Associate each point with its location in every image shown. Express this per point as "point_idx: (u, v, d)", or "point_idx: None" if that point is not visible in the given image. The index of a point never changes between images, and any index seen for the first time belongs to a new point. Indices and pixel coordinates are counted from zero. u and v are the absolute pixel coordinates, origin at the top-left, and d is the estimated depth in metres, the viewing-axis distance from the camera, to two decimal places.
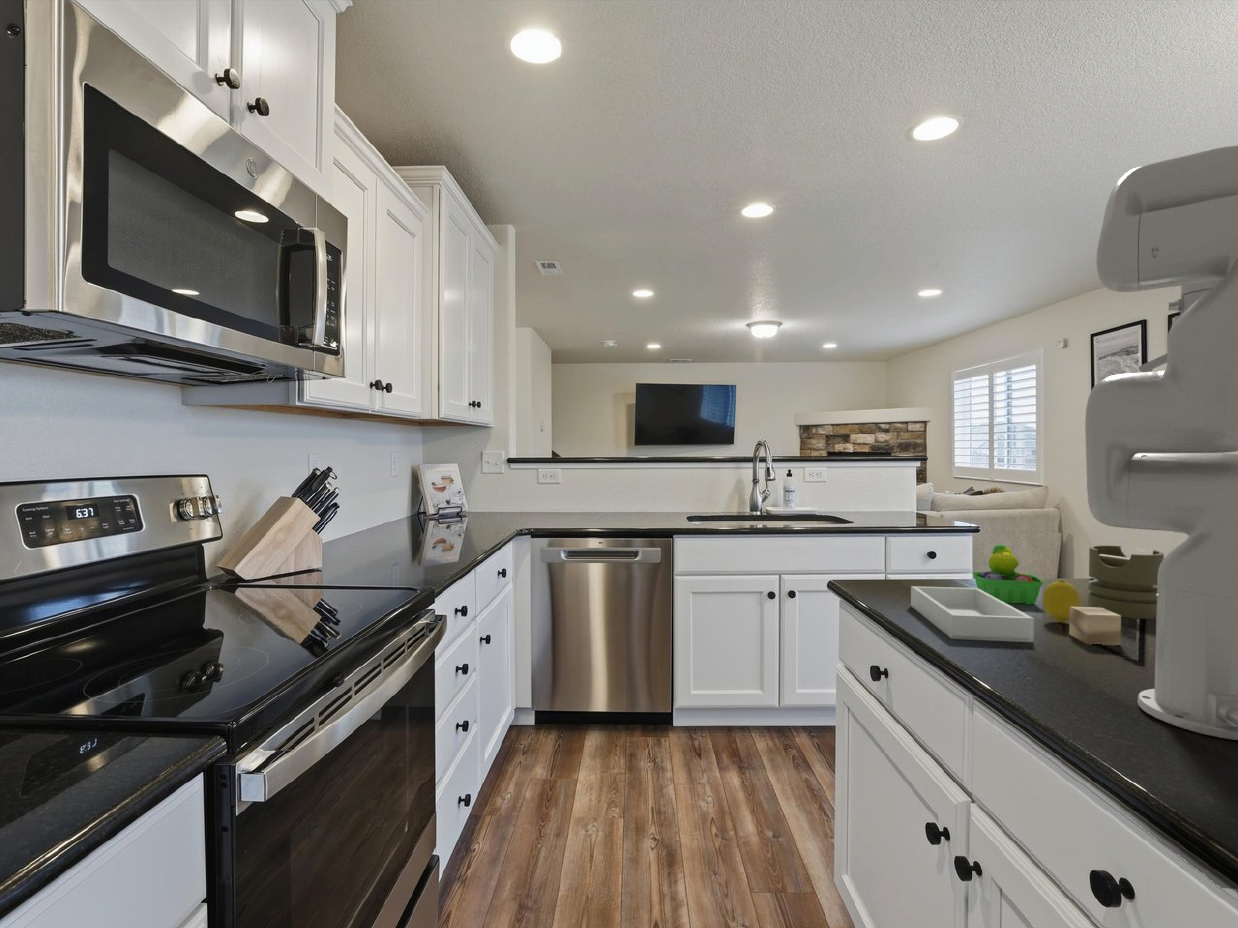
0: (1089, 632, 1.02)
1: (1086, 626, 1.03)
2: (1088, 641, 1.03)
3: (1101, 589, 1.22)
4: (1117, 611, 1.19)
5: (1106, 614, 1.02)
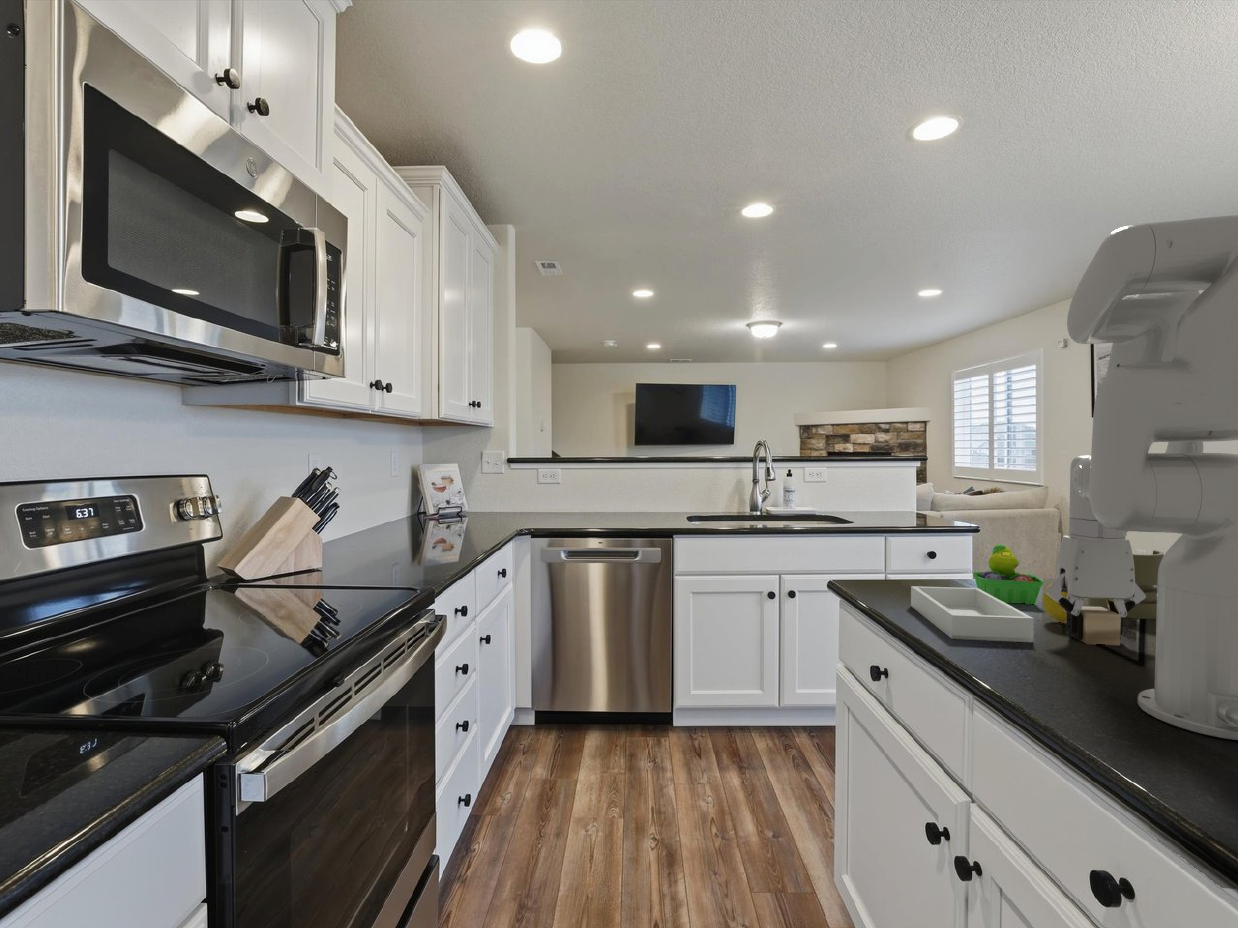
0: (1089, 631, 1.03)
1: (1086, 626, 1.03)
2: (1088, 640, 1.03)
3: None
4: None
5: (1106, 613, 1.03)
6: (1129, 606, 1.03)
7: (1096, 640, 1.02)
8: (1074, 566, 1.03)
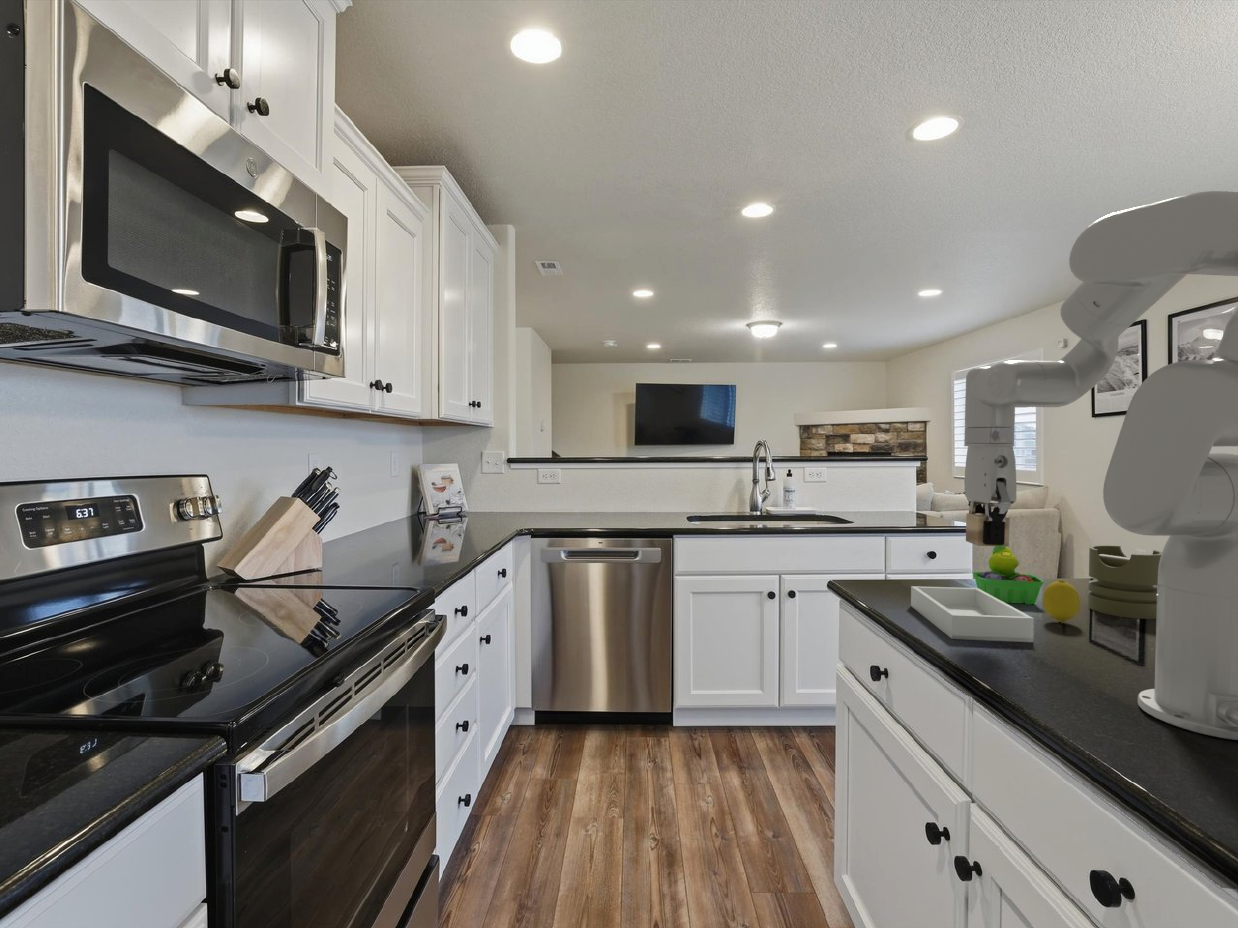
0: (966, 529, 1.13)
1: (967, 524, 1.13)
2: (966, 538, 1.13)
3: (1101, 589, 1.22)
4: (1117, 611, 1.19)
5: (976, 515, 1.10)
6: (994, 512, 1.05)
7: (969, 538, 1.12)
8: (965, 470, 1.14)
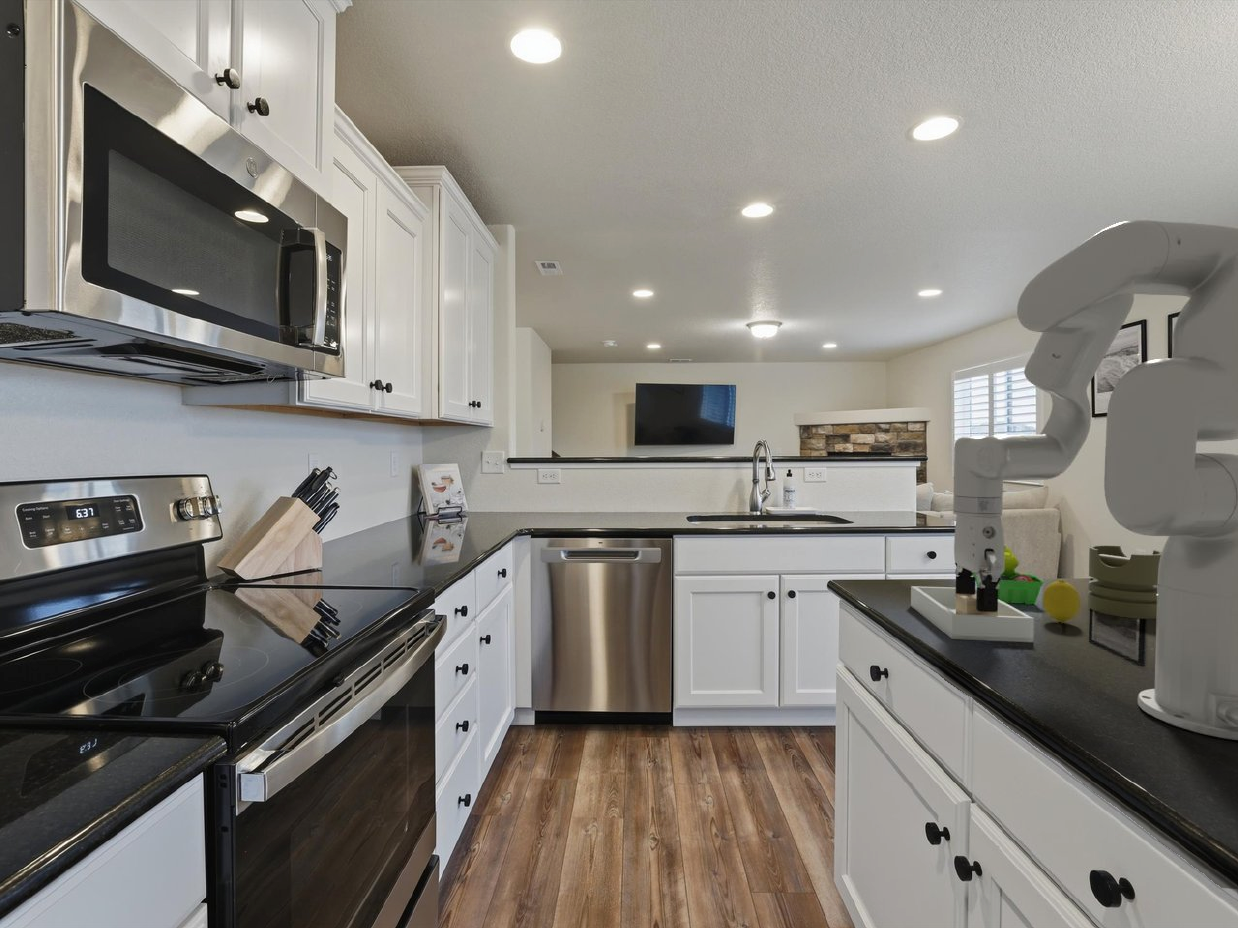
0: (956, 610, 1.13)
1: (956, 605, 1.14)
2: None
3: (1101, 589, 1.22)
4: (1117, 611, 1.19)
5: (965, 597, 1.10)
6: (987, 580, 1.05)
7: None
8: (955, 536, 1.15)
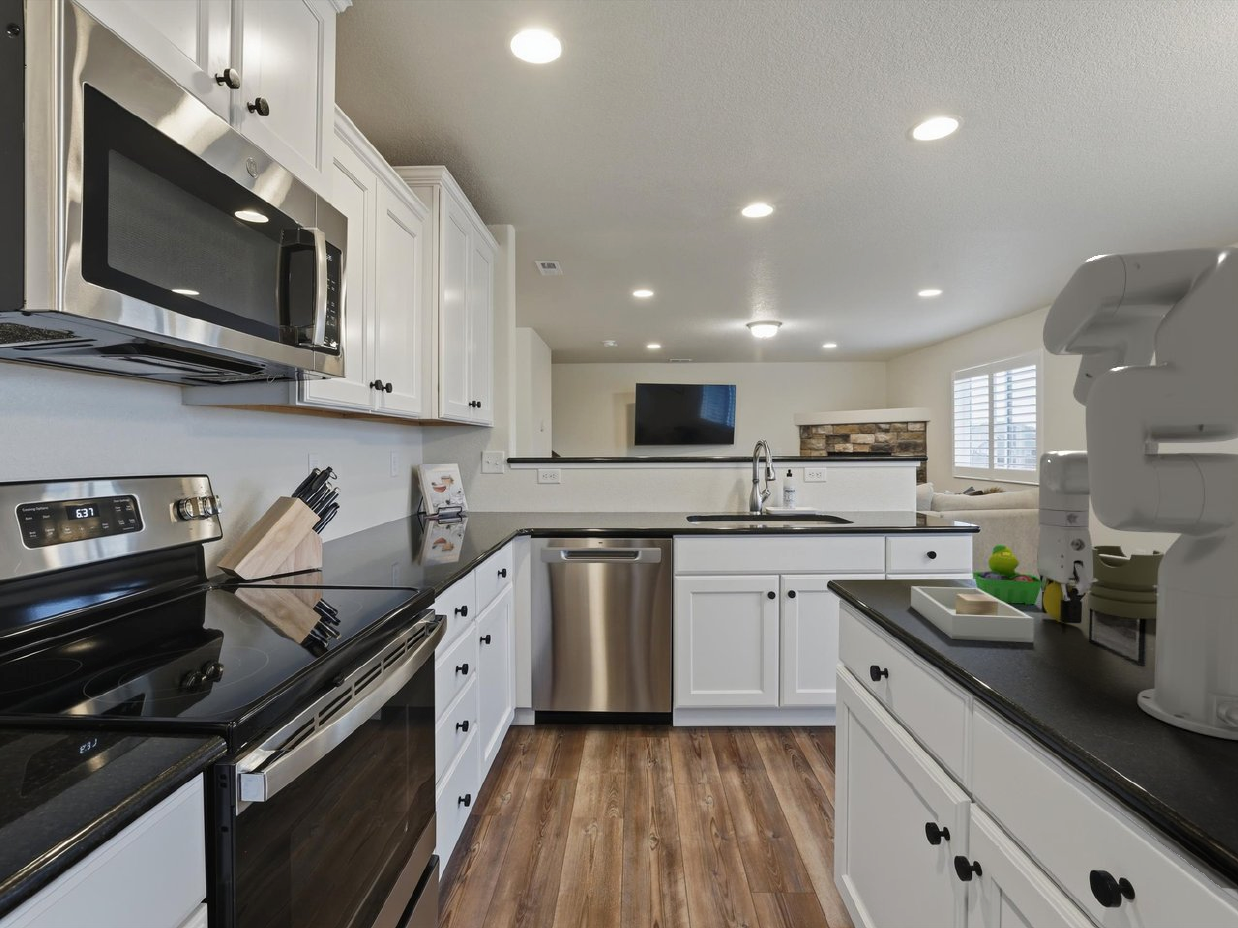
0: (956, 610, 1.13)
1: (956, 605, 1.14)
2: None
3: (1101, 589, 1.22)
4: (1117, 611, 1.19)
5: (965, 597, 1.10)
6: (1072, 593, 1.10)
7: None
8: (1038, 547, 1.19)
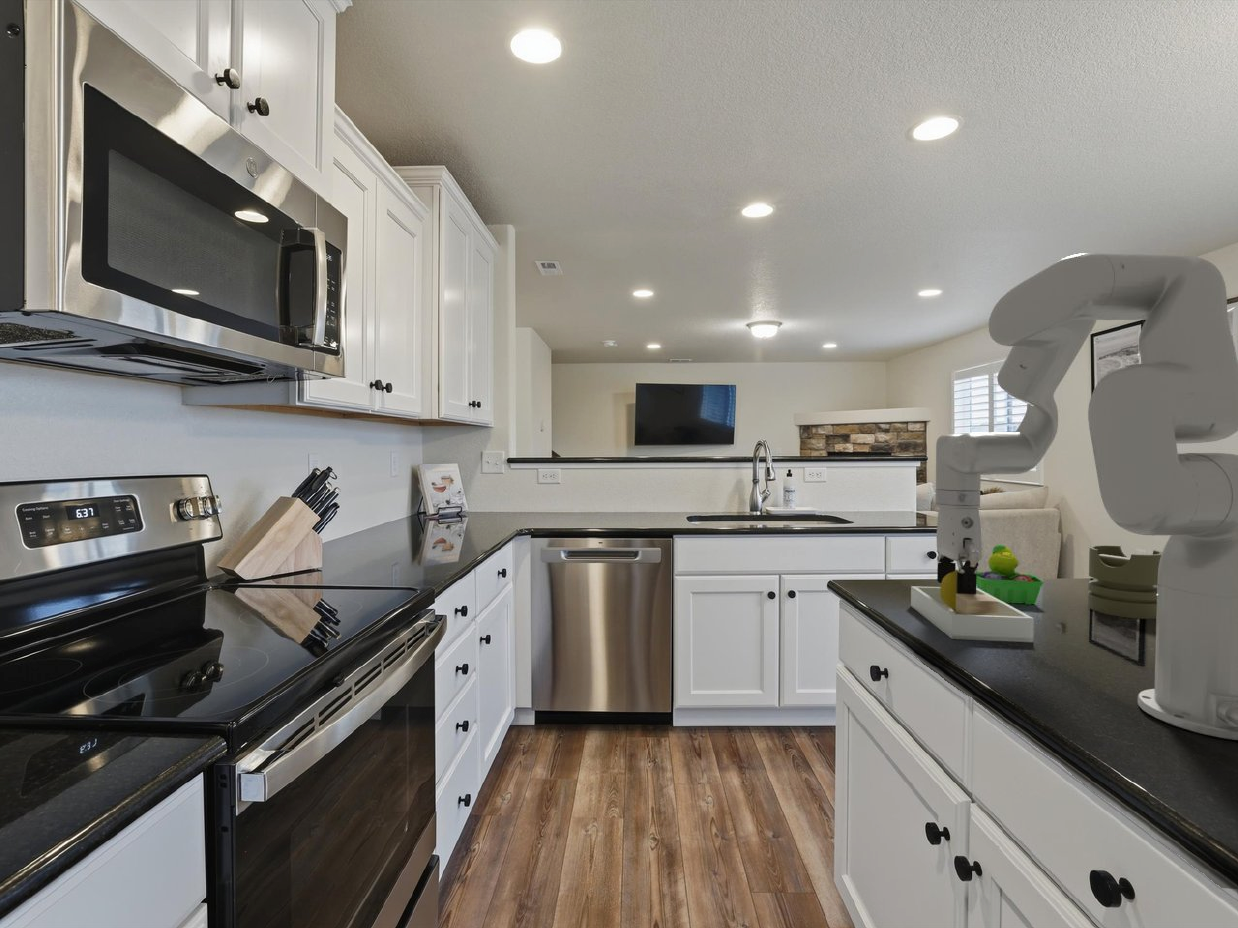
0: (956, 610, 1.13)
1: (956, 605, 1.14)
2: None
3: (1101, 589, 1.22)
4: (1117, 611, 1.19)
5: (965, 597, 1.10)
6: (966, 565, 1.13)
7: None
8: (937, 527, 1.24)
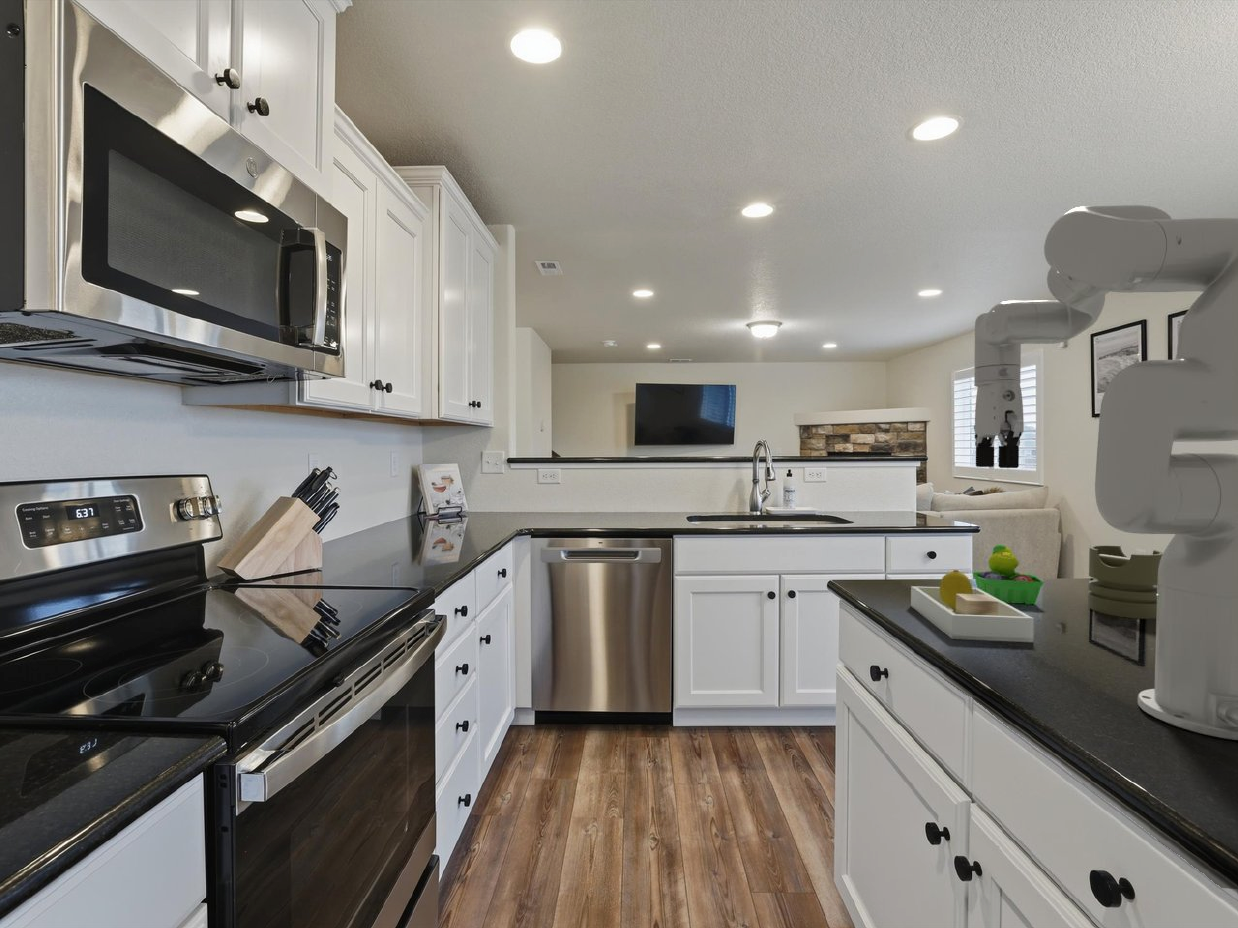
0: (956, 610, 1.13)
1: (956, 605, 1.14)
2: None
3: (1101, 589, 1.22)
4: (1117, 611, 1.19)
5: (965, 597, 1.10)
6: (1008, 436, 1.13)
7: None
8: (975, 410, 1.24)
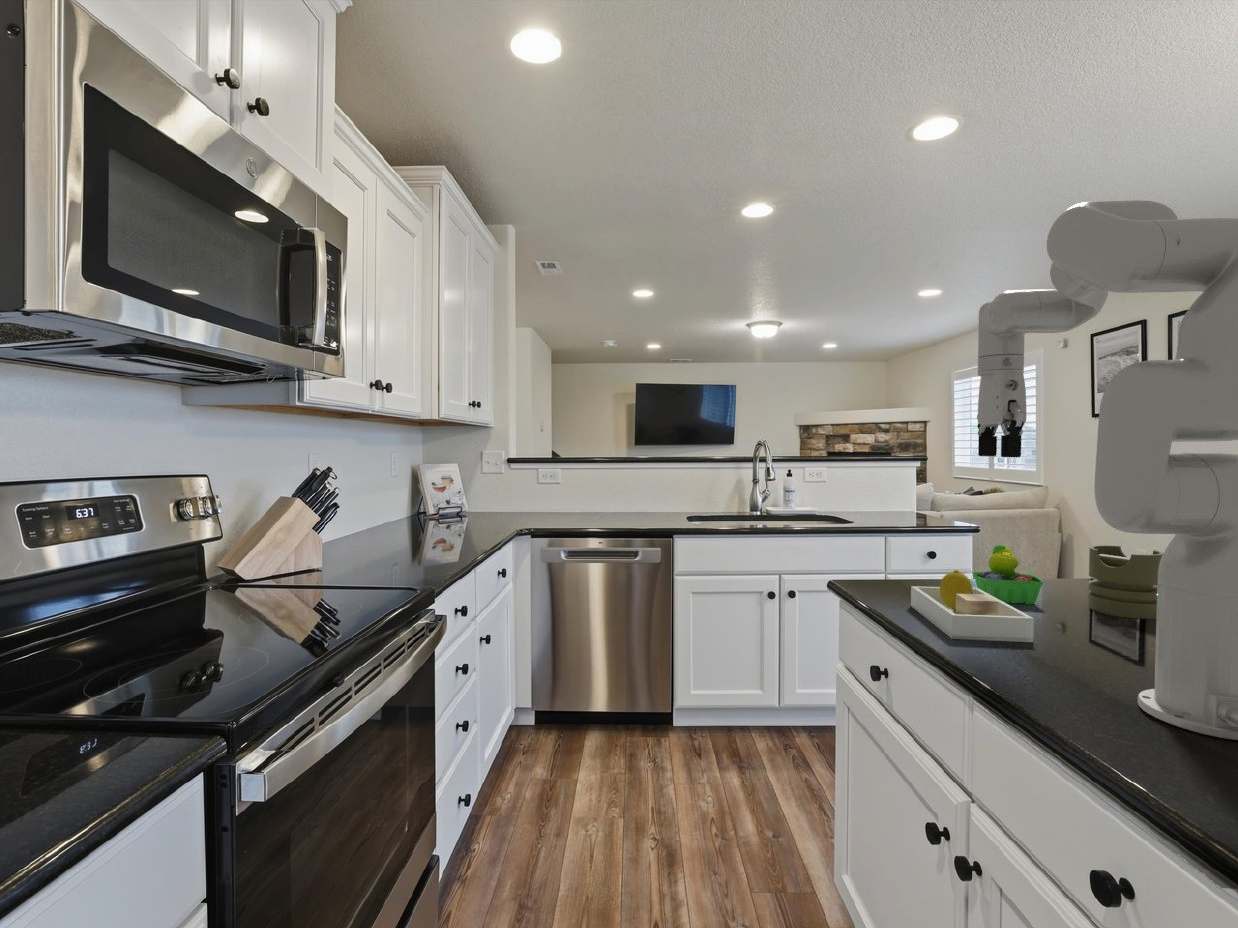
0: (956, 610, 1.13)
1: (956, 605, 1.14)
2: None
3: (1101, 589, 1.22)
4: (1117, 611, 1.19)
5: (965, 597, 1.10)
6: (1011, 425, 1.13)
7: None
8: (978, 399, 1.24)
